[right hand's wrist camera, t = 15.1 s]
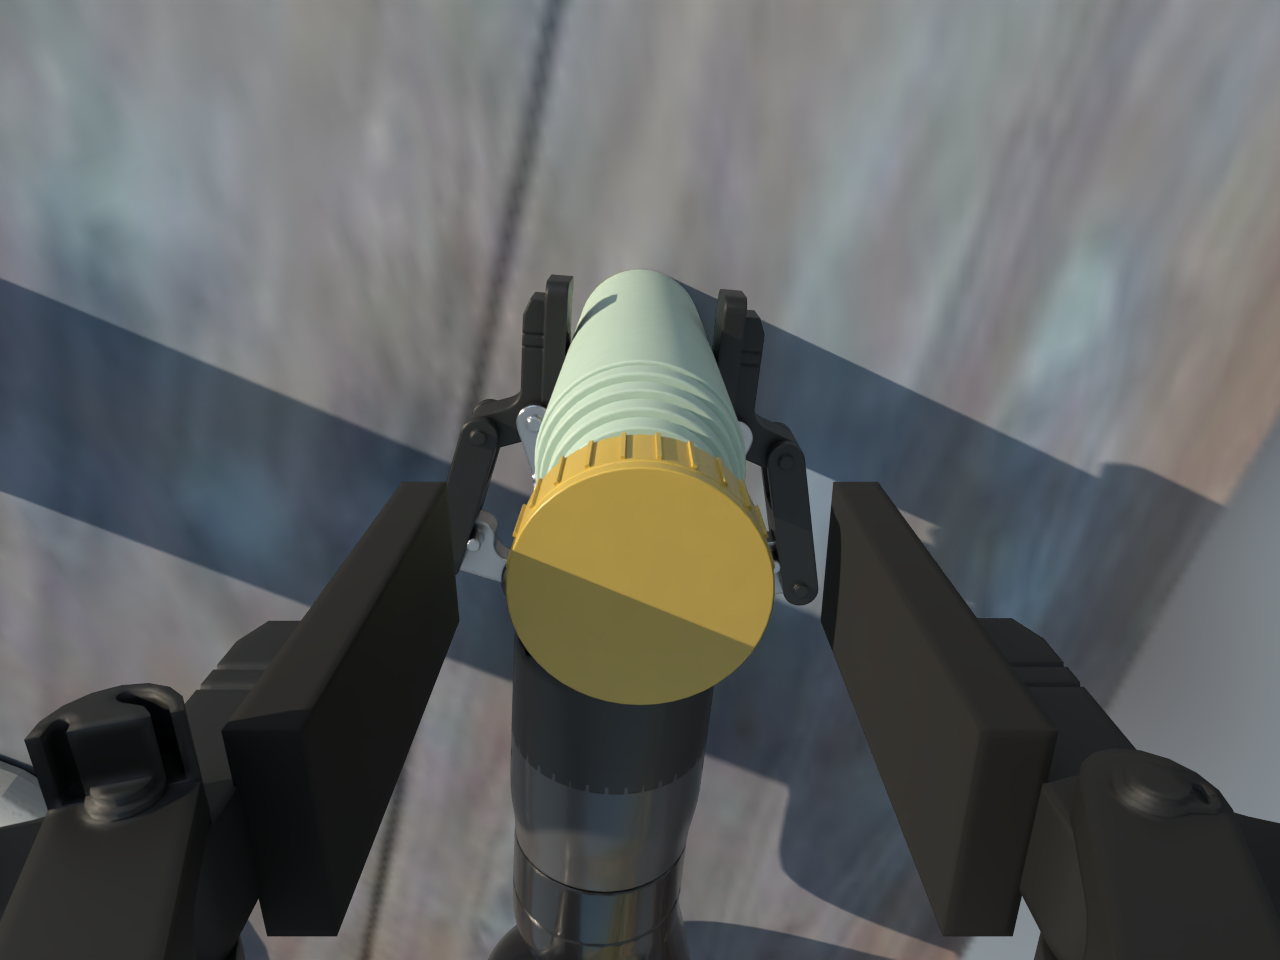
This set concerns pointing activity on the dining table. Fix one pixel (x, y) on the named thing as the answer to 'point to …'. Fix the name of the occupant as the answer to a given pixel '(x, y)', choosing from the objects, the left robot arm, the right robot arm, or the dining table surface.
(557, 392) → the bottle
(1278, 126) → the dining table surface
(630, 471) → the cap
